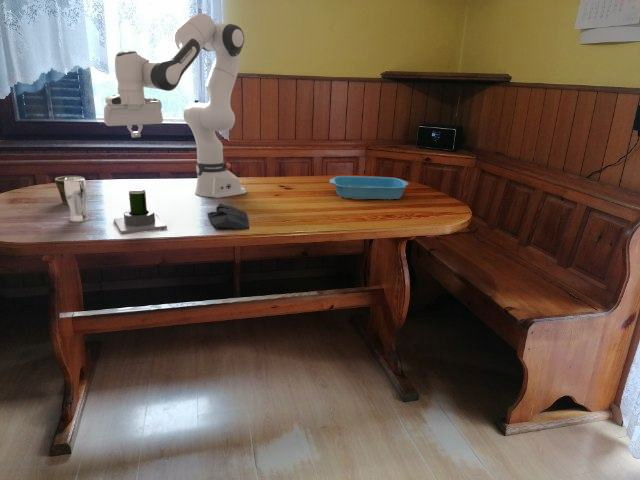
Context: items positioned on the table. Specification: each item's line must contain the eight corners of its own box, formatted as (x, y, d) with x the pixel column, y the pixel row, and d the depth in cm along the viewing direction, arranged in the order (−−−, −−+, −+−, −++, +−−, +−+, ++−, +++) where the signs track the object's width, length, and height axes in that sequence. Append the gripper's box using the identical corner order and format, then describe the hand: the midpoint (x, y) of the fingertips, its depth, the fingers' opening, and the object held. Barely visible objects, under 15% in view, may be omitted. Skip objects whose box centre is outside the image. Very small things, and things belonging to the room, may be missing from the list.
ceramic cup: (91, 201, 197) (88, 177, 194) (70, 207, 188) (66, 182, 185) (69, 197, 202) (66, 173, 199) (47, 202, 193) (43, 177, 190)
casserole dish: (329, 200, 217) (330, 184, 214) (327, 188, 238) (328, 174, 235) (411, 203, 218) (413, 187, 216) (402, 191, 239) (403, 177, 237)
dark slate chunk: (207, 232, 169) (207, 219, 168) (207, 214, 189) (206, 202, 188) (251, 231, 173) (251, 218, 171) (246, 213, 193) (246, 202, 191)
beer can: (134, 225, 168) (131, 191, 164) (129, 221, 172) (126, 188, 168) (150, 223, 171) (147, 189, 167) (144, 219, 175) (142, 186, 171)
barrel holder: (156, 217, 181) (155, 205, 180) (167, 228, 169) (166, 216, 168) (114, 221, 174) (112, 209, 172) (121, 234, 162) (120, 221, 160)
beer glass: (73, 216, 178) (68, 176, 173) (93, 217, 178) (88, 176, 173) (65, 222, 171) (59, 180, 166) (86, 222, 172) (80, 181, 167)
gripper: (158, 97, 183) (162, 134, 188) (100, 98, 172) (105, 137, 177) (163, 98, 178) (166, 136, 183) (103, 100, 167) (108, 140, 172)
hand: (136, 137), depth 180 cm, fingers closed
